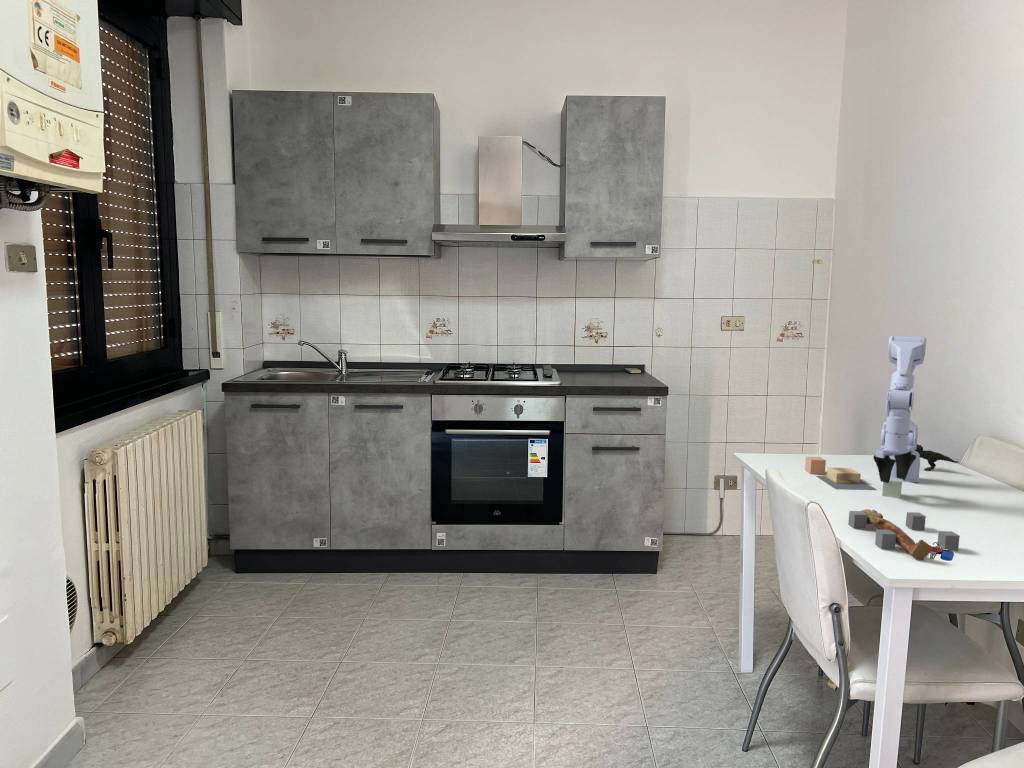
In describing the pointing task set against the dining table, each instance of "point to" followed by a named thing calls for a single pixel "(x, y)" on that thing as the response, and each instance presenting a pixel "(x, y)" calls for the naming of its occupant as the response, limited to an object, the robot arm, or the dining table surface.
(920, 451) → the toy
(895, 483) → the sage cube
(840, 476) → the oak slab
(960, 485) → the dining table surface
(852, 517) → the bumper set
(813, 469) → the terracotta cube
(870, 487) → the mat
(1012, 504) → the dining table surface
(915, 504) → the dining table surface
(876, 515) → the figurine
